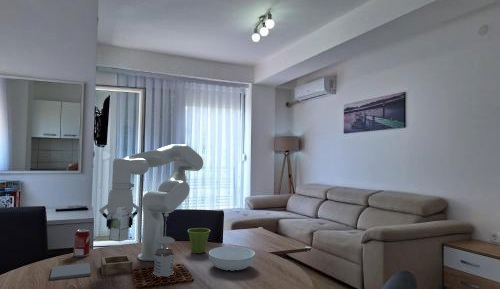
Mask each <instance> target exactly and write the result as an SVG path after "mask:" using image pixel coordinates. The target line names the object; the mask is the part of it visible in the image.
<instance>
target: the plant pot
mask: <svg viewBox="0 0 500 289" xmlns="http://www.w3.org/2000/svg"><path fill="white" fill-rule="evenodd" d="M187 232H188V236H189V242H190V244H189V246H190V252H191V253H192V252H193V253H192V254H195V253H198V254H200V253H202V252H204V253H206V250H207V245H208V240H209V236H210V232H211V229H209V228H205V227H197V228H195V227H194V228H188V229H187ZM202 254H203V253H202Z"/></svg>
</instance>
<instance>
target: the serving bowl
mask: <svg viewBox="0 0 500 289" xmlns="http://www.w3.org/2000/svg"><path fill="white" fill-rule="evenodd" d="M255 256H256V252H255V251H254V250H253V249H249V248H247V247H242V246H219V247H214V248H212V249H210V250H209V251H208V257H209V258H208V259H209V261H210V262H211V263H210V264H212V265H213V266H214V267H215V268H218V269H220V270H224V271H228V270H230V271H231V272H234V270H237V271H241V270H244V269H245V270H246V269H247V268H249V267H250V266H251V265H252V264H253V262H254V260H255ZM230 271H229V272H230Z"/></svg>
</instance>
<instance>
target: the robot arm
mask: <svg viewBox="0 0 500 289" xmlns="http://www.w3.org/2000/svg"><path fill="white" fill-rule="evenodd" d="M172 162H173V172H172V173H171V175H170V176H168V177H167V178H166V179H165V180H164V181H163V182H161V184H160V185H159V186H158V191H156V190H150V191H147V192H146V193H145V194H144V195H143V197H142V200H141V204H142V205H141V207H142V213H143V214H142V215H143V216H142V217H143V218H142V234H141V235H142V238H141V253H139V254H138V255H137V259H138V260H140V261H144V262H154V258H155V253H157V252H156V250H157V249H160V248H164V246H163V244H160V246H159V243H157V242H155V240H156V239H158V238H160V237H164V224H165V223H164V215H163V214H165V213H168V214H171V213H173V212H174V211H176V210H177V208H178V207H180V206H181V204H182V203H184V201H186V199H187V198H188V196H189V194H190V185H189V183H188V182H187V176H186V172H187V171H188V172H189V171H190V172H198V171H199V172H200V170H202V169H203V168H204V159H203V157H202V156H201V155H200V154H199V153H198V152H197V151H196V150H194V149H193V147H191V146H189V145H188V144H183V143H182V144H177V143H174V144H168V145H166V146H162V147H160V148H157V149H153V150H147V151H143V152H138V153H134V154H131V155H127V156H124V157H123V158H121V157H116V158H114V159H113V162H112V175H111V176H112V177H111V180H112V181H111V182H112V183H111V189H109V191H108V196H107V198H108V199H107V204H105V205H104V206H102V207H101V208H99V210H98V211H99V212H100V214H101V215H102V217H104V218H105V219H106V226H105V227H106V228H107V229H108V230H110V225H111V220H110V219H111V216H112V214H115V213H116V210H117V208H118V207H124V206H125V208H126V213H128V214H129V215H130V217H129V229H131V228H132V226H133V224H134V218H135V217H136V216H137V215H138V214H139V212H140V210H141V207H139V206H138V205H137V204H135V203H134V195H133V189H131V188H135V184H134V183H132V182H131V181H132V175H135V176H136V175H137V176H138V175H139V176H141V175H144V174H146V173H147V172H148V171H149V170H150V168H158V167H162V166H165V165H167V164H169V163H172ZM134 209H135V211H134ZM105 210H106V211H107V212H108V213H105ZM132 212H133V213H132ZM170 248H171V247H170ZM171 249H173V248H171ZM161 257H163V254H162V253H161ZM155 261H156V260H155Z"/></svg>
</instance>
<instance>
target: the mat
mask: <svg viewBox="0 0 500 289" xmlns="http://www.w3.org/2000/svg"><path fill="white" fill-rule="evenodd" d="M90 264H91V263H90V262H87V263H85V262H84V263H77V264H65V265H55V266H52V267H51V271H50V276H49V281H55V280H56V281H57V280H64V279H72V278H74V279H75V278H80V277H81V278H82V277H90V276H91V275H92V272H91V265H90Z"/></svg>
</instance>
